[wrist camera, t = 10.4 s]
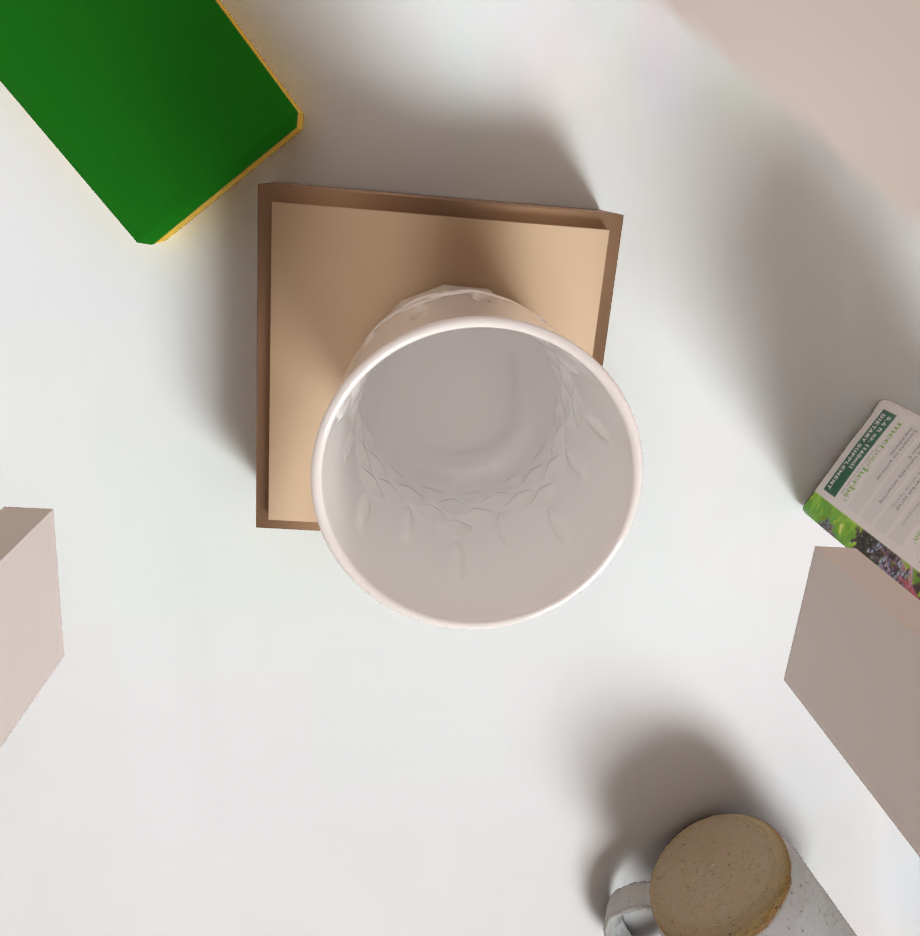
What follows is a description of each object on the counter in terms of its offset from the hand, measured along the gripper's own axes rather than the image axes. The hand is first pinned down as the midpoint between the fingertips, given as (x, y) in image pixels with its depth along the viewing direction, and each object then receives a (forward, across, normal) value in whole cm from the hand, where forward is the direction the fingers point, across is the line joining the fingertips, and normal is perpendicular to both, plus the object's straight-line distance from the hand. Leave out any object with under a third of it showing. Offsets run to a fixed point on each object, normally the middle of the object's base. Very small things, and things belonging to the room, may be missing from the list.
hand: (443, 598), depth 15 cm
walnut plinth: (+20, 0, 0) cm, 20 cm away
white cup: (+16, +1, 0) cm, 16 cm away
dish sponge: (+20, -12, +11) cm, 26 cm away
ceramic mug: (+20, +16, -26) cm, 36 cm away
